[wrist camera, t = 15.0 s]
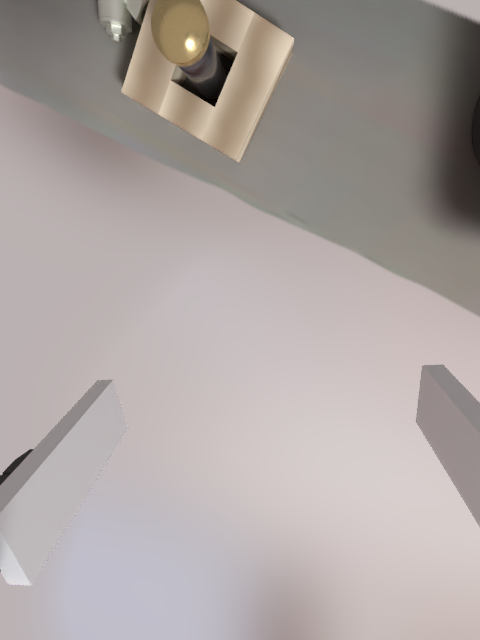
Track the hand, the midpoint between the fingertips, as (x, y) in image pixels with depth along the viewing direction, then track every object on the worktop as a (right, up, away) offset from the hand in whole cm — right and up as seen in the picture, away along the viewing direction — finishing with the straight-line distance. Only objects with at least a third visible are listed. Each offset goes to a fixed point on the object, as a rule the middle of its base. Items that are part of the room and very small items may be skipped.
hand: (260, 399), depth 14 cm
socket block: (-4, +31, +22) cm, 38 cm away
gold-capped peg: (-4, +31, +22) cm, 38 cm away
